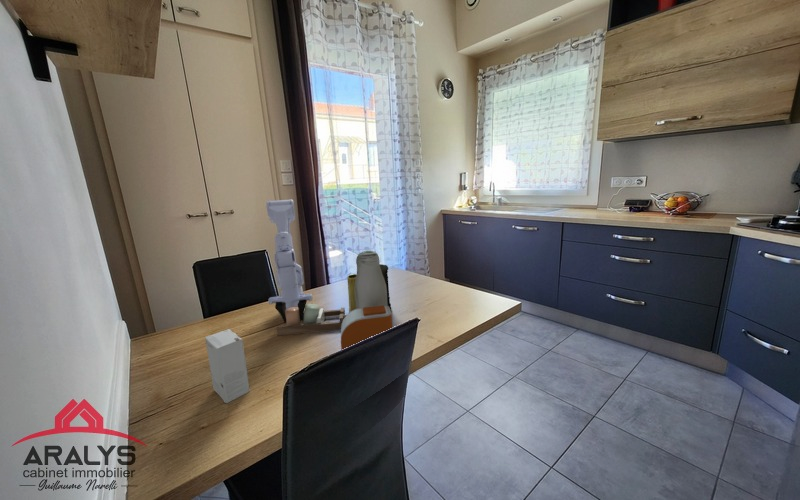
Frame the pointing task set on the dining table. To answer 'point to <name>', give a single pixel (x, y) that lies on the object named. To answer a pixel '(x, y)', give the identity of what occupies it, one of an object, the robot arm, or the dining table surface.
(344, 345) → the alarm clock
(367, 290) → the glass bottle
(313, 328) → the lane
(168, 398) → the dining table surface
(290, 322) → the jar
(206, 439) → the dining table surface
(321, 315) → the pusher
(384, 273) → the container
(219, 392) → the skincare box
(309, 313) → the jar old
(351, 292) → the vase
